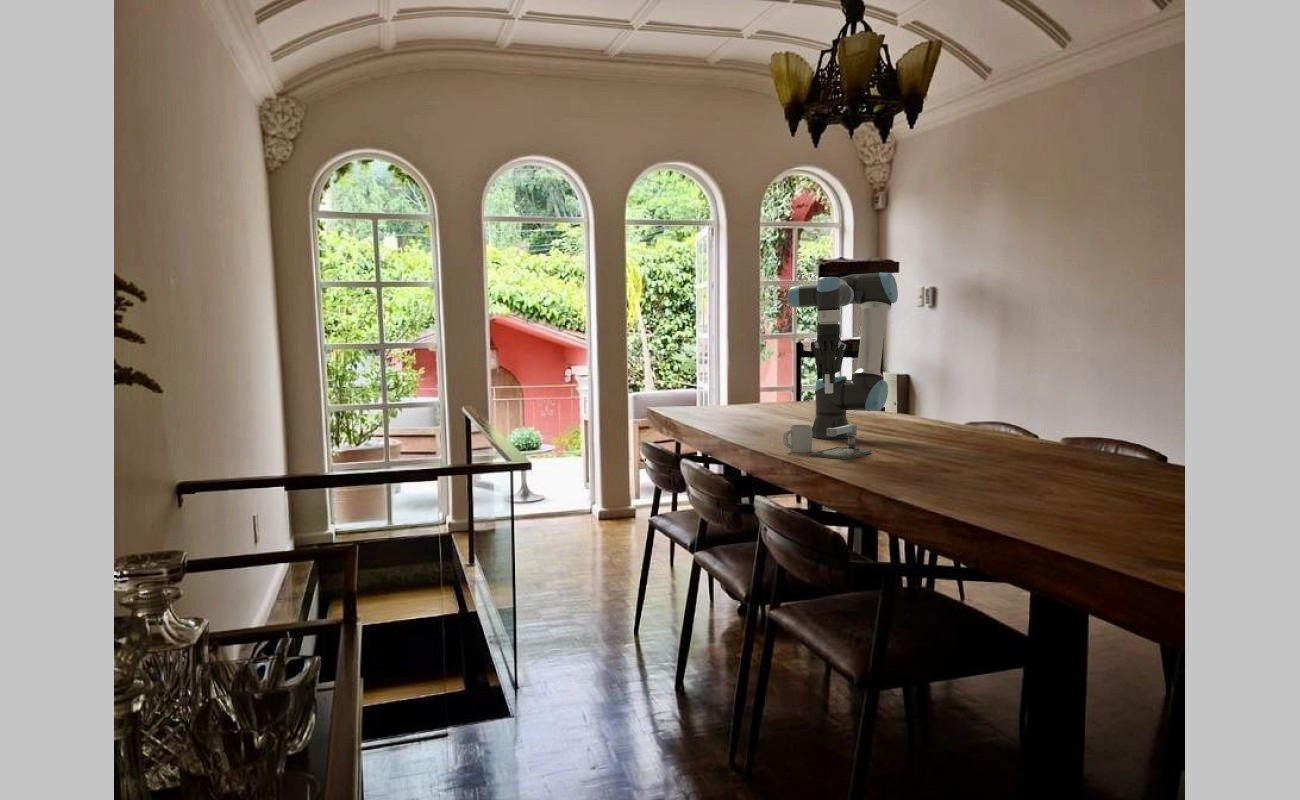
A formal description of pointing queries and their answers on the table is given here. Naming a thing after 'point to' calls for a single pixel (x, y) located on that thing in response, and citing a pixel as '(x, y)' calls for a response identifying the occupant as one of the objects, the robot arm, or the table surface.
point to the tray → (843, 451)
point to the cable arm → (842, 430)
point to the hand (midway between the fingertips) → (828, 393)
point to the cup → (799, 438)
